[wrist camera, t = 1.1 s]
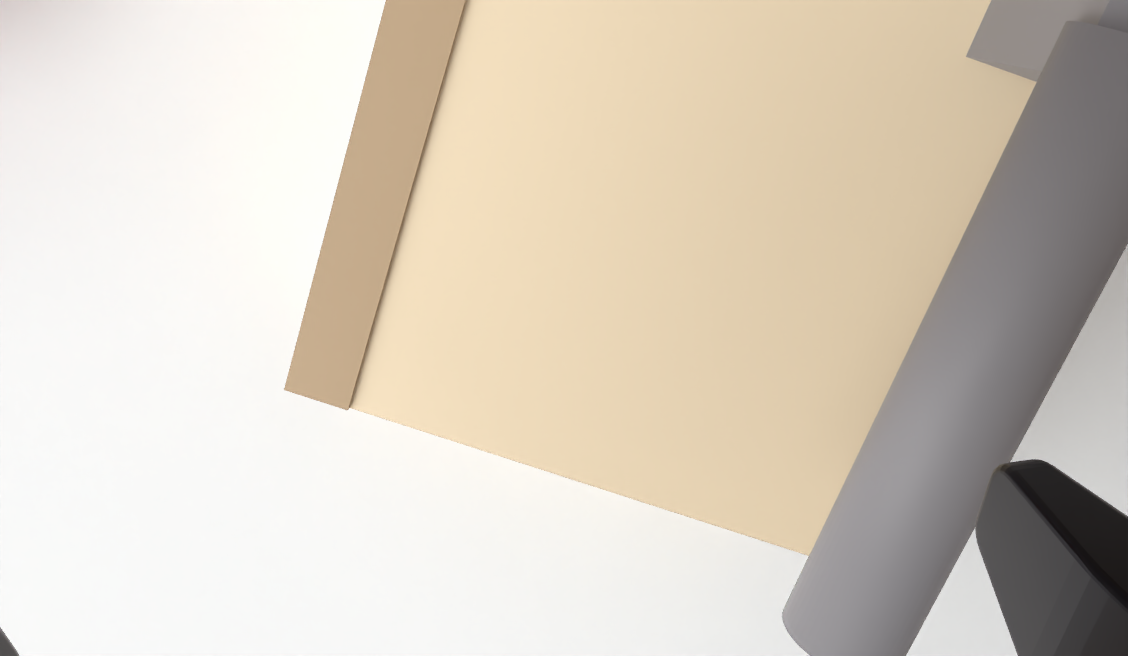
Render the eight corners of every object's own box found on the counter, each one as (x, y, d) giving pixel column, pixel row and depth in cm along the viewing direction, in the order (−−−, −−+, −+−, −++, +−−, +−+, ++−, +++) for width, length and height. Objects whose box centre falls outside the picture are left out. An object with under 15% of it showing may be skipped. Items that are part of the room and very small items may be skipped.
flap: (1108, -64, 16) (1343, -88, 11) (816, 543, 20) (888, 740, 14) (473, -298, 15) (404, -442, 10) (296, 375, 19) (179, 518, 14)
